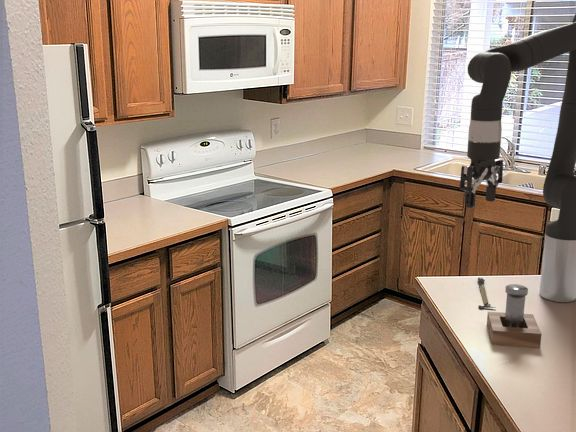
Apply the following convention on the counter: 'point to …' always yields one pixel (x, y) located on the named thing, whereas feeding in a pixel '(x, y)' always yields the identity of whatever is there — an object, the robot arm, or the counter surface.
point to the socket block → (513, 331)
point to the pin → (515, 305)
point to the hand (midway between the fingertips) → (480, 204)
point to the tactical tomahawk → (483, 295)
